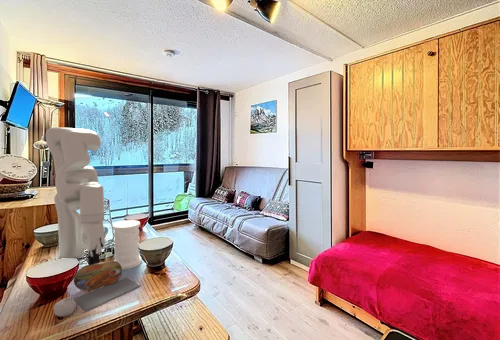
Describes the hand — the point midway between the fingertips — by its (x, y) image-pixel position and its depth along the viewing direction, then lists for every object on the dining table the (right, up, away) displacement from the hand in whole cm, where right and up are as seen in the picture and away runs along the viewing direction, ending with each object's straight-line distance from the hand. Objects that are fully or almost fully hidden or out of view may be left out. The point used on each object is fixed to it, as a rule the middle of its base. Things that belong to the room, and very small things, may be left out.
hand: (94, 265), depth 92 cm
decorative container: (+4, -6, +16) cm, 18 cm away
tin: (+3, -7, -2) cm, 8 cm away
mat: (+9, -8, -6) cm, 13 cm away
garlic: (+2, -9, -17) cm, 19 cm away
